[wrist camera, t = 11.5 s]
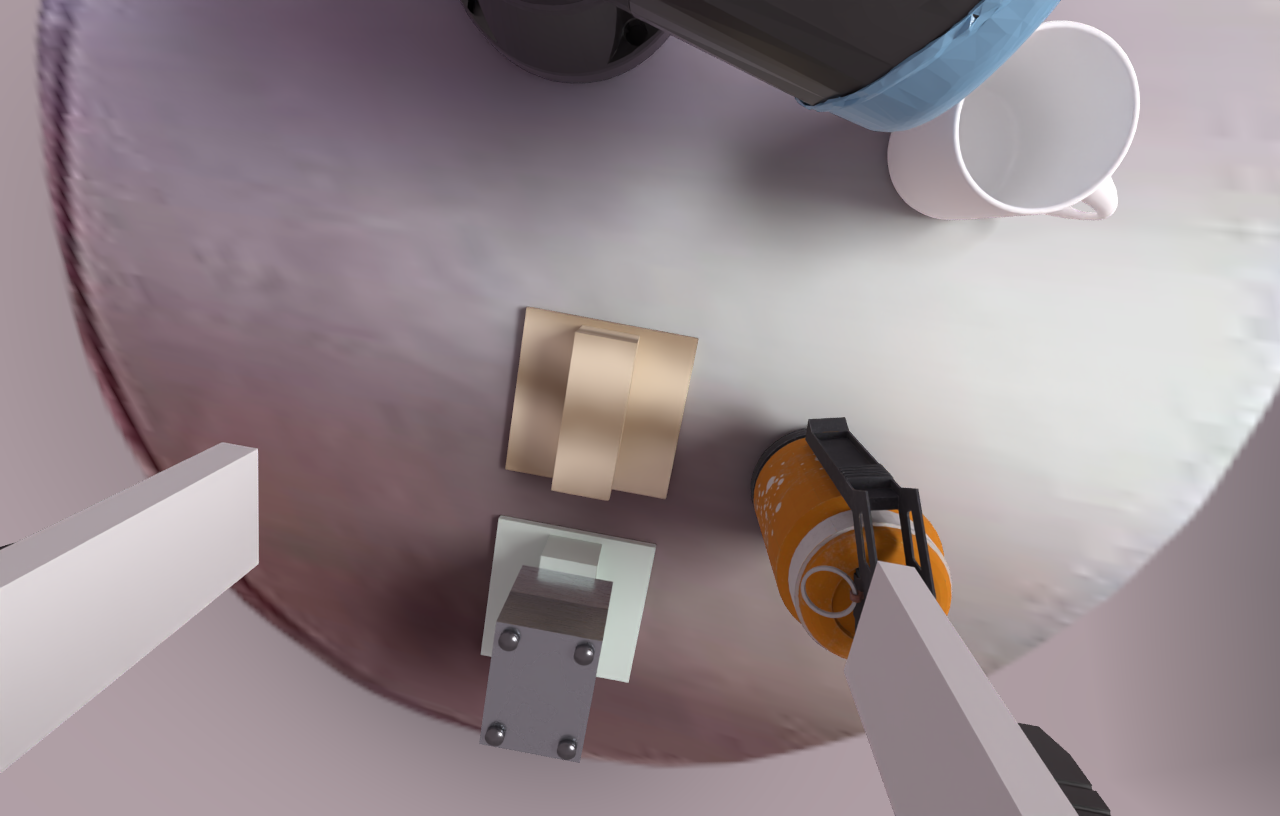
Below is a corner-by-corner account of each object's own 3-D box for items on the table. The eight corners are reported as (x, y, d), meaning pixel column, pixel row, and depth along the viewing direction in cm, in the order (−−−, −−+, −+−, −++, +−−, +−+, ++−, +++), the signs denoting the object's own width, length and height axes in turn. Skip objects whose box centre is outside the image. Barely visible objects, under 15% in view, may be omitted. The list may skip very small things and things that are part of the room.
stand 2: (500, 515, 49) (485, 538, 45) (656, 544, 49) (654, 570, 45) (482, 650, 52) (467, 682, 48) (628, 677, 52) (625, 712, 48)
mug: (996, 277, 43) (1099, 289, 33) (855, 168, 42) (915, 145, 31) (1092, 164, 41) (1233, 138, 31) (946, 46, 40) (1042, -22, 29)
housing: (522, 564, 46) (494, 625, 38) (613, 581, 46) (601, 645, 38) (506, 672, 48) (477, 748, 41) (593, 688, 48) (578, 767, 41)
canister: (751, 542, 49) (802, 743, 29) (747, 400, 46) (800, 517, 27) (872, 538, 48) (1006, 739, 29) (875, 393, 45) (1026, 508, 26)
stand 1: (528, 306, 45) (514, 312, 41) (697, 338, 45) (700, 347, 41) (507, 466, 48) (492, 486, 44) (665, 496, 48) (665, 518, 44)
